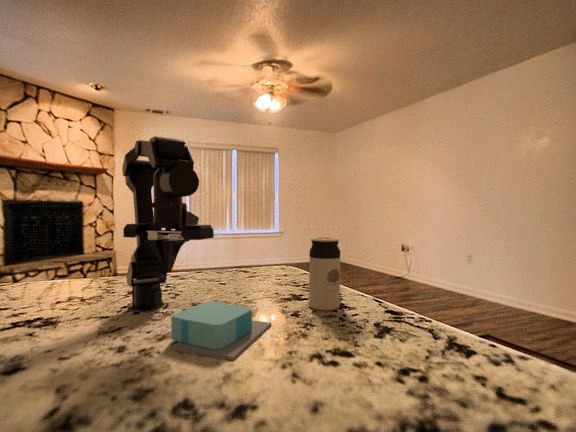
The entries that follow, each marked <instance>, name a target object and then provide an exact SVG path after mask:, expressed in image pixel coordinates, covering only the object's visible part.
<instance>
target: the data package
mask: <svg viewBox="0 0 576 432" xmlns="http://www.w3.org/2000/svg"><path fill="white" fill-rule="evenodd" d="M252 321H253V309H252V308H251V307H248V306H243V305H235V304H228V303H222V302H216V301H206V302H203V303H200V304H197V305H195V306H192V307H190V308H189V307H188V308H187V309H185V310H181V311H179V312H176V313H174V314H173V313H172V315H171V330H170V331H171V332H170V333H171V340H172V341H174V342H177V343H178V342H182V343H186V344H190V345H195V346H199V347H203V348H208V349H212V350H219V349H223V348H225V347H226V346H228V345H230V344H231V343H233V342H235V341H236V340H238V339H240V338H241V337H243V336H245V335H246V334H248V333H249V332H251V331H252Z"/></svg>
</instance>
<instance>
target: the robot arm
mask: <svg viewBox="0 0 576 432" xmlns="http://www.w3.org/2000/svg"><path fill="white" fill-rule="evenodd" d="M139 157H142V158H143V157H145V158H147V159H148V160H141V159H139ZM194 164H195V162H194V159H193V157H192V155H191V152H190V151H189V147H188V145H186V142H185V140H184V139H180V138H179V139H178V138H172V137H171V138H170V137H163V136H156V135H155V136H152V137H151V138H150V139H149V140H143V139H139V140H136V141H135V144H134V147H133V148H132V149H130V150H129V151H128V152H127V153H126V154H125V155H124V158H123V163H122V168H121V171H122V176H123V177H124V179H125V185H126V187H128V189H129V191H131V193H132V195H133V196H132V197H133V209H134V210H133V211H134V221H135V222H134V223H126V225H125V226H124V227H123V238H133V239H134V238H136V248H135V250H134V251H133V253H132V254H131V258H130V262H129V264H128V269H127V272H126V284H127V285H128V286H129V287H130V288H131V293H132V294H131V297H132V299H131V303H132V305H131V304H130V305H129V306H127V309H128V310H132V311H133V310H134V311H142V312H150V311H152V310H155V309H157V308H160V307H162V306H164V305H165V302H163V298H162V297H163V296H162V295H163V293H162V291H163V289H162V287H161V284H165V283H166V282H167V277H168V273H171V272H172V271H173V268H174V266H175V262H176V260H177V258H178V254H179V252H180V251H181V248H182V247H183V246H184V244H185V243H187V242H190V240H191V241H202V240H208V239H214V231H215V230H214V228H213V227H212V225H211V224H199V221H200V217H199V216H197V215H196V214H194V213H193V212H191V211H189V210H188V205H187V202H183V198H185V197H189V196H192V195H194V194H195V193H196V192H197V190H198V189H199V186H200V179H199V176H198V174H197V172H196V170H194ZM152 189H153V193H152ZM152 194H153V195H152Z"/></svg>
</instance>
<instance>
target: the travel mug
mask: <svg viewBox="0 0 576 432" xmlns="http://www.w3.org/2000/svg"><path fill="white" fill-rule="evenodd" d="M310 240H311V247H310V249H309V265H308V266H309V273H308V275H309V279H308V281H309V283H308V285H309V287H308V288H309V289H308V290H309V291H308V292H309V294H308V298H309V299H308V306H309V307H310V308H311V309H314V310H317V311H323V312H324V311H329V312H330V311H334V310H337V309H339V308H340V307H341V301H340V300H341V250H340V248H339V246H338V244H339V241H340V238H338V237H333V236H332V237H330V236H329V237H328V236H316V237H314V236H313V237H311V238H310Z"/></svg>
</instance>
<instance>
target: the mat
mask: <svg viewBox="0 0 576 432" xmlns="http://www.w3.org/2000/svg"><path fill="white" fill-rule="evenodd" d="M270 327H272V322H267V321H258V320H252V331H251V332H249V333H248V334H246V335H245V336H243V337H241V338H240V339H238V340H236V341H235V342H233V343H231V344H230V345H228V346H226V347H225V348H223V349H219V350H212V349H208V348H203V347H199V346H195V345H190V344H186V343H182V342H178V341H177V343H175V344H173V345H172V346H170V351H174V352H178V353H179V352H180V353H186V354H192V355H198V356H202V357H203V356H204V357H210V358H215V359H224V360H229V361H234V360H236V359H237V358H238V357H239V356H240V355H241V354H242V353H243V352H244V351H246V349H247V348H248V347H250V346H251V345H252V344H253V343H254V342H255V341H256V340H257V339H259V338H260V337H261V336H262V335H263V334H264V333H265V332H266V331H267V330H268V329H269V328H270Z"/></svg>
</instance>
